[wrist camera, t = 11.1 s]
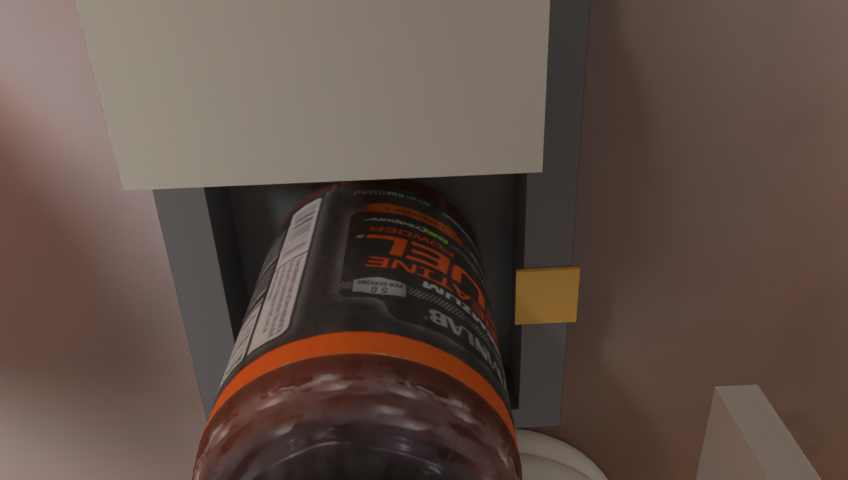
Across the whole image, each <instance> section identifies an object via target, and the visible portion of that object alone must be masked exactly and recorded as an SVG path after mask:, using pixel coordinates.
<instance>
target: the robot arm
mask: <svg viewBox="0 0 848 480" xmlns="http://www.w3.org/2000/svg"><path fill="white" fill-rule="evenodd" d="M695 480H821V478H820V477H819V475H818V474H817V472H816V471H815V469H814V468H813V466H812V465H811V463H810V462H809V460H808V459H807V457H806V456H805V454H804V453H803V451H802V450H801V448H800V447H799V445H798V444H797V442H796V441H795V439H794V438H793V436H792V435H791V433H790V432H789V431H788V429H787V428H786V426H785V425H784V423H783V422H782V420H781V419H780V417H779V416H778V414H777V413H776V411H775V410H774V408H773V407H772V405H771V404H770V402H769V401H768V399H767V398H766V396H765V395H764V393H763V392H762V390H761V389H760V387H759V386H758V384H756V385H737V386H718V387H715V389H714V394H713V398H712V403H711V408H710V413H709V417H708V422H707V427H706V432H705V436H704V441H703V446H702V450H701V455H700V460H699V465H698V469H697V474H696V479H695Z"/></svg>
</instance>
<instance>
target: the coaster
mask: <svg viewBox="0 0 848 480" xmlns="http://www.w3.org/2000/svg"><path fill="white" fill-rule="evenodd" d="M515 431H516V438H517V445H518V450H519V456H520V461H521V466H522V480H608V479H607V478H606V476H605V475H604V474H603V472H602V471H601V470H600V469H599V468H598V467H597V466H596V465H595V464H594V462H593V461H592V460H591V459H590V458H588V457H587V456H586V455H584V454H583V453H582V452H580V451H579V450H578V449H576V448H574V447H572V446H570V445H569V444H567V443H565V442H563V441H561V440H558V439H556V438H553V437H551V436H548V435H545V434H541V433H537V432H534V431H530V430H523V429H517V428H515Z"/></svg>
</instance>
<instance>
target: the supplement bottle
mask: <svg viewBox="0 0 848 480" xmlns="http://www.w3.org/2000/svg"><path fill="white" fill-rule="evenodd" d="M192 480H522V466H521V461H520V456H519V450H518V445H517V438H516V431H515V425H514V419H513V416H512V412H511V406H510V400H509V394H508V390H507V385H506V379H505V373H504V369H503V365H502V361H501V355H500V349H499V345H498V340H497V335H496V330H495V323H494V317H493V312H492V307H491V298H490V295H489V291H488V286H487V281H486V274H485V268H484V262H483V259H482V257H481V254H480V250H479V247H478V244H477V242H476V238H475V236H474V234H473V232H472V230H471V228H470V226H469V225H468V223H467V222H466V221H465V219H464V218H463V217H462V215H461V214H460V213H459V212H458V210H457V209H456V208H455V207H454V206H453V205H452V204H451V203H450V202H448V201H447V200H446V199H445V198H443V197H442V196H440V195H439V194H438V193H437V192H436V191H434V190H432V189H430V188H427V187H425V186H423V185H421V184H419V183H416V182H414V181H411V180H407V179H403V178H400V179H378V180H355V181H333V182H331V183H328V184H326V185H324V186H322V187H321V188H319V189H317V190H315V191H313V192H311V193H310V194H309V195H307V196H306V197H304V199H302V200H301V201H299V202H298V203H297V204H296V205H295V206H294V207H293V208H292V209H291V210H290V211H289V213H288V214H287V215H286V216H285V218H284V219H283V221H282V222H281V224H280V226H279V228H278V230H277V232H276V234H275V236H274V238H273V240H272V242H271V245H270V246H269V249H268V253H267V256H266V259H265V262H264V264H263V267H262V269H261V272H260V275H259V278H258V281H257V284H256V287H255V289H254V292H253V295H252V298H251V301H250V303H249V306H248V309H247V312H246V314H245V317H244V320H243V323H242V326H241V328H240V331H239V335H238V337H237V339H236V343H235V346H234V348H233V351H232V354H231V357H230V360H229V362H228V365H227V368H226V371H225V373H224V376H223V379H222V382H221V384H220V387H219V390H218V393H217V396H216V398H215V401H214V404H213V407H212V411H211V414H210V417H209V420H208V422H207V425H206V428H205V430H204V433H203V436H202V438H201V441H200V444H199V449H198V452H197V456H196V462H195V466H194V469H193V478H192Z"/></svg>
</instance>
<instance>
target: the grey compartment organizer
mask: <svg viewBox="0 0 848 480" xmlns="http://www.w3.org/2000/svg"><path fill="white" fill-rule="evenodd" d="M75 3H76V7H77V11H78V14H79V18H80V22H81V26H82V30H83V34H84V38H85V42H86V46H87V49H88V53H89V57H90V61H91V65H92V69H93V73H94V77H95V81H96V84H97V88H98V92H99V96H100V100H101V104H102V108H103V112H104V115H105V119H106V123H107V127H108V131H109V135H110V139H111V143H112V147H113V150H114V154H115V158H116V162H117V166H118V170H119V174H120V178H121V182H122V185H123V189H124V191H129V190H151V189H152V191H153V195H154V199H155V203H156V208H157V212H158V216H159V220H160V224H161V229H162V233H163V237H164V241H165V246H166V250H167V254H168V258H169V262H170V267H171V271H172V275H173V279H174V284H175V288H176V292H177V296H178V301H179V305H180V309H181V313H182V317H183V322H184V326H185V330H186V334H187V339H188V343H189V347H190V351H191V355H192V360H193V364H194V368H195V372H196V377H197V381H198V385H199V389H200V393H201V398H202V402H203V406H204V410H205V415H206V419H207V422H208V420H209V417H210V414H211V411H212V407H213V404H214V401H215V398H216V396H217V393H218V390H219V387H220V384H221V382H222V379H223V376H224V373H225V371H226V368H227V365H228V362H229V360H230V357H231V354H232V351H233V348H234V346H235V343H236V339H237V337H238V335H239V331H240V328H241V326H242V323H243V320H244V317H245V314H246V312H247V309H248V306H249V303H250V301H251V298H252V295H253V292H254V289H255V287H256V284H257V281H258V278H259V275H260V272H261V269H262V267H263V264H264V262H265V259H266V256H267V253H268V249H269V246H270V245H271V242H272V240H273V238H274V236H275V234H276V232H277V230H278V228H279V226H280V224H281V222H282V221H283V219H284V218H285V216H286V215H287V214H288V213H289V211H290V210H291V209H292V208H293V207H294V206H295V205H296V204H297V203H298V202H299V201H301V200H302V199H304V197H306V196H307V195H309V194H310V193H311V192H313V191H315V190H317V189H319V188H321V187H322V186H324V185H326V184H328V183H331V182H333V181H355V180H378V179H400V178H403V179H407V180H411V181H414V182H416V183H419V184H421V185H423V186H425V187H427V188H430V189H432V190H434V191H436V192H437V193H438V194H439V195H440V196H442V197H443V198H445V199H446V200H447V201H448V202H450V203H451V204H452V205H453V206H454V207H455V208H456V209H457V210H458V212H459V213H460V214H461V215H462V217H463V218H464V219H465V221H466V222H467V223H468V225H469V226H470V228H471V230H472V232H473V234H474V236H475V238H476V242H477V244H478V247H479V250H480V254H481V257H482V259H483V262H484V268H485V274H486V281H487V286H488V291H489V295H490V298H491V307H492V312H493V317H494V323H495V330H496V335H497V340H498V345H499V349H500V355H501V361H502V365H503V369H504V373H505V379H506V385H507V390H508V394H509V400H510V406H511V412H512V416H513V419H514V425H515V428H529V427H551V426H560V418H561V404H562V390H563V376H564V362H565V348H566V334H567V322H576V317H577V304H578V291H579V278H580V268H579V267H571V264H572V250H573V236H574V222H575V208H576V194H577V180H578V166H579V152H580V138H581V124H582V110H583V96H584V82H585V68H586V54H587V40H588V26H589V12H590V0H75Z"/></svg>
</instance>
